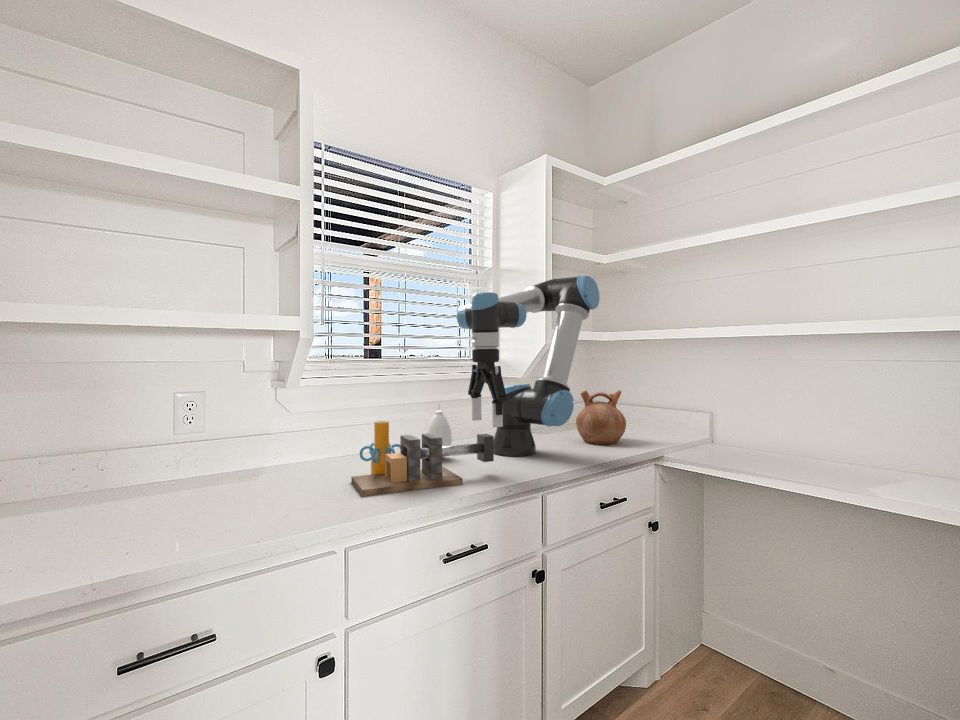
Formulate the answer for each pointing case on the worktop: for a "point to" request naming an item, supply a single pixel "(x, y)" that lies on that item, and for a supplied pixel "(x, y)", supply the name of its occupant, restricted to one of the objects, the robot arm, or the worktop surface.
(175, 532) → the worktop surface
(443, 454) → the shaft
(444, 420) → the sauce bottle
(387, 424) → the cylinder
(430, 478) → the jig
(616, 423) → the jug
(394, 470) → the block
